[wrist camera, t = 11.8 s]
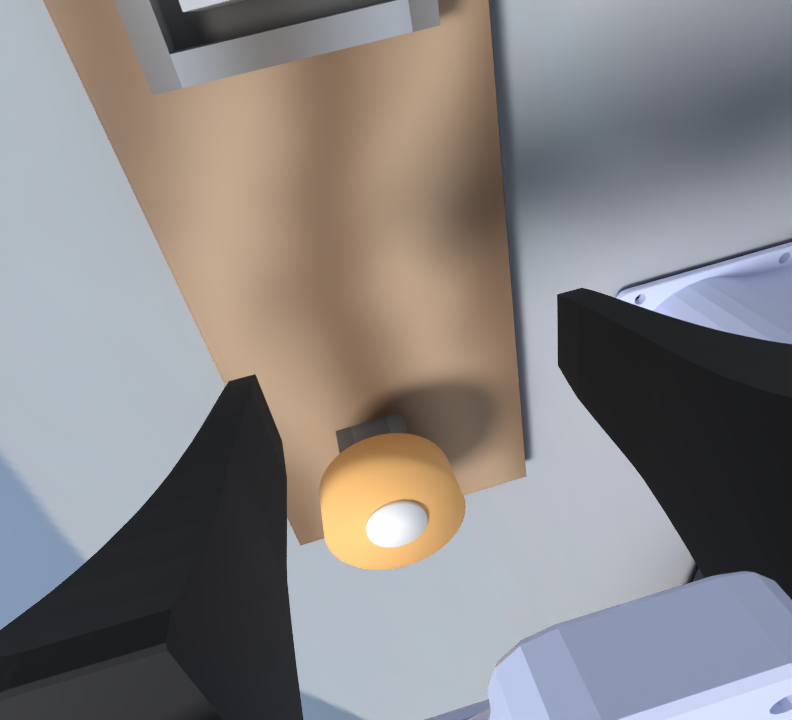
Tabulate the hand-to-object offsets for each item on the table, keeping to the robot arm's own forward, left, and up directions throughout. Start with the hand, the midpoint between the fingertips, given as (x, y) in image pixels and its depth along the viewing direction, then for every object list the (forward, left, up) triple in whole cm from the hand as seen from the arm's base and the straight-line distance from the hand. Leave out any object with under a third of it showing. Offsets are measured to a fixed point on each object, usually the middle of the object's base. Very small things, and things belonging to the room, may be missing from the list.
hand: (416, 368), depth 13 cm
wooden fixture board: (+1, 0, -9) cm, 9 cm away
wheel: (+2, +10, -8) cm, 13 cm away
